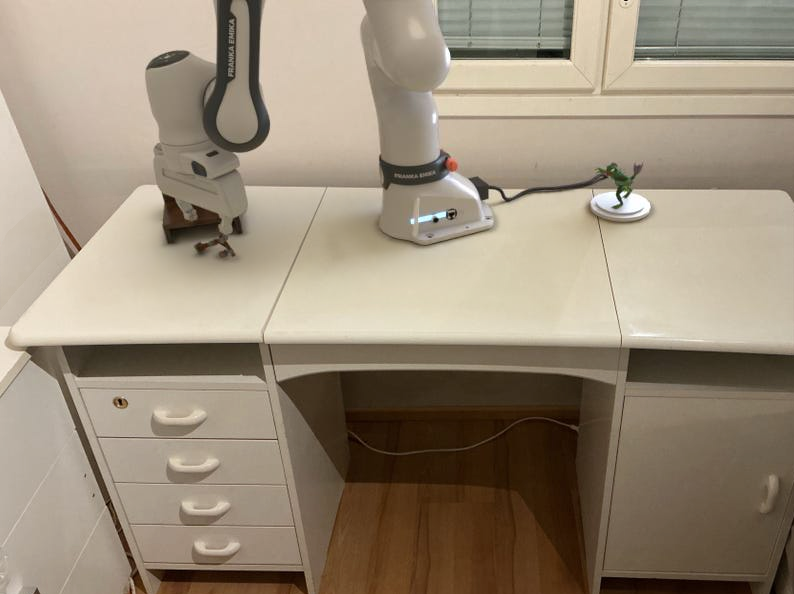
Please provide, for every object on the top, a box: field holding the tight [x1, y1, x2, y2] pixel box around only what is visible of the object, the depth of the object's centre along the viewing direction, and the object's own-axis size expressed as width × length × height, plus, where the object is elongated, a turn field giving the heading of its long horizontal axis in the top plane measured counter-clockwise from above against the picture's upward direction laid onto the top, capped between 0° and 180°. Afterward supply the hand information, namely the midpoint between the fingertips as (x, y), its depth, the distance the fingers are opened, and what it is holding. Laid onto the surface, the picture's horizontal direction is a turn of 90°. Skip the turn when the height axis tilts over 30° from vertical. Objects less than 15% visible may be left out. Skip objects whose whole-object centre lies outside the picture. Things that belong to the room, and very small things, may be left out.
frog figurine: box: [589, 162, 651, 223], centre depth 153 cm, size 12×12×10 cm
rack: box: [160, 191, 244, 245], centre depth 151 cm, size 14×16×10 cm
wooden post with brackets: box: [193, 234, 237, 258], centre depth 142 cm, size 2×8×4 cm, turn 70°
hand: (208, 226), depth 139 cm, fingers open, 8 cm apart
